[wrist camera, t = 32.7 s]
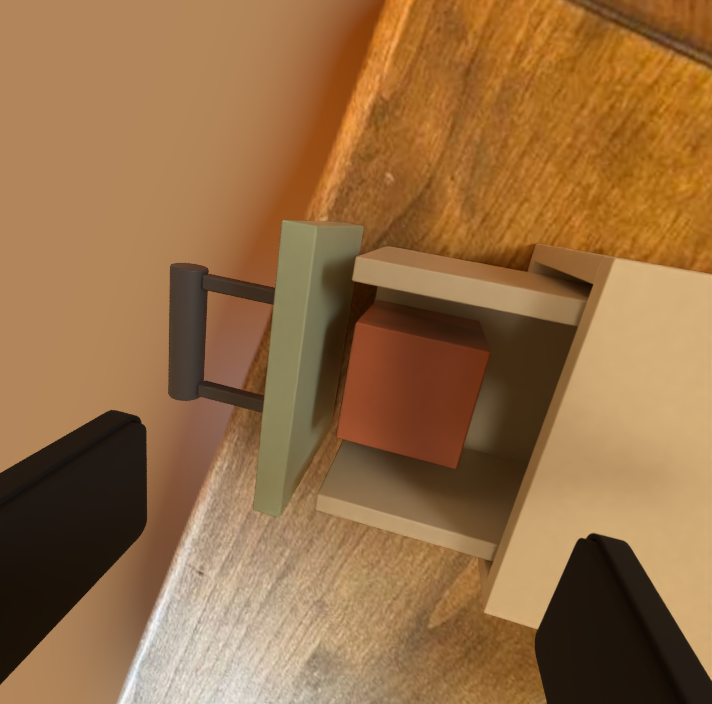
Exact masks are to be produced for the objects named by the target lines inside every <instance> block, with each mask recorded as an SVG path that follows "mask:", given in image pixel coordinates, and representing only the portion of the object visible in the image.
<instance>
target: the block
mask: <svg viewBox="0 0 712 704" xmlns="http://www.w3.org/2000/svg"><path fill="white" fill-rule="evenodd" d="M490 355H491V351H490V349H489V346H488V343H487V340H486V338H485V335H484V332H483V329H482V327H481V324H480V321H477V320H472V319H468V318H463V317H458V316H453V315H448V314H444V313H439V312H434V311H429V310H424V309H419V308H415V307H410V306H405V305H400V304H395V303H391V302H386V301H381V300H376V301H375V302H374V304H373V305H372V306H371V307H370V308H369V309H368V310H367V311H366V312H365V313H364V314H363V315H362V317H361V318H360V319H359V320H358V321H357V322H356V323H355V328H354V333H353V339H352V345H351V351H350V357H349V363H348V368H347V374H346V380H345V386H344V392H343V398H342V403H341V409H340V415H339V421H338V427H337V433H336V437H337V438H339V439H343V440H347V441H351V442H355V443H358V444H362V445H366V446H370V447H374V448H378V449H381V450H385V451H389V452H393V453H397V454H400V455H404V456H408V457H412V458H416V459H419V460H423V461H427V462H431V463H435V464H439V465H442V466H446V467H450V468H454V469H456V468H457V467H458V464H459V460H460V457H461V453H462V450H463V447H464V443H465V440H466V436H467V433H468V430H469V426H470V423H471V419H472V416H473V413H474V409H475V406H476V402H477V399H478V396H479V392H480V389H481V385H482V382H483V379H484V375H485V372H486V368H487V365H488V362H489V358H490Z"/></svg>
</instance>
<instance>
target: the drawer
mask: <svg viewBox="0 0 712 704" xmlns="http://www.w3.org/2000/svg"><path fill="white" fill-rule="evenodd" d="M363 229H364V226H362V225H356V224H351V223H345V222H331V221H304V220H282V225H281V235H280V245H279V255H278V265H277V276H276V284H275V288H273V287H269V286H264V285H259V284H254V283H249V282H245V281H240V280H235V279H231V278H225V277H221V276H216V275H212V274H209V275H208V268H206V267H204V266H201V265H196V264H190V263H175V264H171V266H170V312H169V313H170V314H169V315H170V316H169V317H170V318H169V386H168V388H169V389H168V391H169V392H168V393H169V396H170V397H171V398H173V399H176V400H182V401H188V400H194V399H197V398H199V397H204V398H208V399H212V400H215V401H219V402H224V403H227V404H231V405H235V406H239V407H242V408H246V409H250V410H254V411H258V412H262V413H263V414H262V424H261V434H260V444H259V454H258V464H257V474H256V484H255V494H254V504H253V510H255V511H258V512H262V513H265V514H268V515H272V516H275V517H280V516H281V515H282V513H283V511H284V509H285V508H286V506H287V504H288V502H289V501H290V499H291V497H292V495H293V493H294V492H295V490H296V488H297V486H298V485H299V483H300V481H301V479H302V478H303V476H304V474H305V472H306V471H307V469H308V467H309V465H310V463H311V462H312V460H313V458H314V456H315V455H316V453H317V451H318V449H319V448H320V446H321V444H322V442H323V441H324V439H325V437H326V435H327V433H328V432H329V430H330V428H331V424H332V417H333V411H334V405H335V399H336V393H337V387H338V381H339V375H340V369H341V363H342V357H343V351H344V345H345V339H346V333H347V326H348V320H349V314H350V308H351V302H352V296H353V290H354V284H355V282H360V283H365V284H369V285H374V286H377V291H376V296H375V301H376V300H381V301H386V302H391V303H395V304H400V305H405V306H410V307H415V308H419V309H424V310H429V311H434V312H439V313H444V314H448V315H453V316H458V317H463V318H468V319H472V320H477V321H480V324H481V327H482V329H483V332H484V335H485V338H486V340H487V343H488V346H489V349H490V351H491V355H490V358H489V362H488V365H487V368H486V372H485V375H484V379H483V382H482V385H481V389H480V392H479V396H478V399H477V402H476V406H475V409H474V413H473V416H472V419H471V423H470V426H469V430H468V433H467V436H466V440H465V443H464V447H463V450H462V453H461V457H460V460H459V464H458V467H457V468H456V469H454V468H450V467H446V466H442V465H439V464H435V463H431V462H427V461H423V460H419V459H416V458H412V457H408V456H404V455H400V454H397V453H393V452H389V451H385V450H381V449H378V448H374V447H370V446H366V445H362V444H358V443H355V442H351V441H347V440H343V441H342V444H341V446H340V448H339V450H338V452H337V454H336V456H335V458H334V460H333V462H332V465H331V467H330V469H329V471H328V473H327V475H326V477H325V479H324V481H323V484H322V486H321V488H320V490H319V492H318V494H317V499H316V506H315V510H317V511H321V512H324V513H328V514H331V515H335V516H338V517H341V518H345V519H348V520H352V521H355V522H359V523H362V524H366V525H369V526H372V527H376V528H379V529H383V530H386V531H390V532H393V533H396V534H400V535H403V536H407V537H410V538H414V539H417V540H420V541H424V542H427V543H431V544H434V545H438V546H441V547H445V548H448V549H451V550H455V551H458V552H462V553H465V554H469V555H472V556H475V557H479V558H482V559H486V560H489V561H494V559H495V556H496V553H497V550H498V548H499V545H500V542H501V539H502V536H503V534H504V531H505V528H506V525H507V523H508V520H509V517H510V514H511V511H512V509H513V506H514V503H515V500H516V498H517V495H518V492H519V489H520V487H521V484H522V481H523V478H524V475H525V473H526V470H527V467H528V464H529V462H530V459H531V456H532V453H533V451H534V448H535V445H536V442H537V439H538V437H539V434H540V431H541V428H542V426H543V423H544V420H545V417H546V415H547V412H548V409H549V406H550V403H551V401H552V398H553V395H554V392H555V390H556V387H557V384H558V381H559V379H560V376H561V373H562V370H563V367H564V365H565V362H566V359H567V356H568V354H569V351H570V348H571V345H572V343H573V340H574V337H575V334H576V331H577V329H578V326H579V323H580V320H581V318H582V315H583V312H584V309H585V307H586V304H587V301H588V298H589V295H590V293H591V290H592V287H593V284H589V283H584V282H578V281H573V280H568V279H562V278H557V277H552V276H546V275H541V274H535V273H530V272H525V271H519V270H514V269H509V268H503V267H498V266H493V265H487V264H482V263H477V262H471V261H466V260H461V259H455V258H450V257H445V256H439V255H434V254H428V253H423V252H418V251H412V250H407V249H402V248H396V247H391V246H386V247H383V248H380V249H377V250H374V251H371V252H368V253H365V254H362V255H359V254H360V248H361V242H362V236H363ZM208 291H213V292H217V293H222V294H226V295H231V296H236V297H241V298H245V299H250V300H254V301H259V302H264V303H268V304H272V305H273V314H272V324H271V334H270V344H269V354H268V364H267V374H266V384H265V394H264V395H260V394H256V393H252V392H248V391H244V390H240V389H236V388H232V387H228V386H224V385H221V384H216V383H212V382H209V381H203V380H204V360H205V338H206V337H205V336H206V316H207V292H208Z"/></svg>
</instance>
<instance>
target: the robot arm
mask: <svg viewBox="0 0 712 704" xmlns="http://www.w3.org/2000/svg"><path fill="white" fill-rule="evenodd" d="M146 522H147V458H146V427H145V426H144V425H143V424H142V423H141V420H140V418H139V417H137V416H135V415H132V414H128V413H124V412H120V411H115V410H110V411H108V412H106V413H104V414H102V415H100V416H99V417H97V418H95V419H94V420H92V421H90V422H88V423H86V424H85V425H83V426H81V427H79V428H78V429H76V430H74V431H73V432H71V433H69V434H67V435H66V436H64V437H62V438H60V439H59V440H57V441H55V442H54V443H52V444H50V445H48V446H46V447H45V448H43V449H41V450H40V451H38V452H36V453H34V454H33V455H31V456H29V457H27V458H26V459H24V460H22V461H20V462H19V463H17V464H15V465H14V466H12V467H10V468H8V469H7V470H5V471H3V472H1V473H0V684H1V683H2V682H3V681H4V680H5V679H6V678H7V677H8V676H9V675H10V674H11V673H12V672H13V671H14V670H15V668H16V667H17V666H18V665H19V664H20V663H21V662H22V661H23V660H24V659H25V658H26V657H27V656H28V655H29V654H30V653H31V651H32V650H33V649H34V648H35V647H36V646H37V645H38V644H39V643H40V642H41V641H42V640H43V639H44V638H45V637H46V635H47V634H48V633H49V632H50V631H51V630H52V629H53V628H54V627H55V626H56V625H57V624H58V623H59V622H60V621H61V620H62V618H64V616H65V615H66V614H67V613H68V612H69V611H70V610H71V609H72V608H73V607H74V606H75V605H76V604H77V602H79V600H80V599H81V598H82V597H83V596H84V595H85V594H86V593H87V592H88V591H89V590H90V589H91V588H92V587H93V586H94V585H95V583H96V582H97V581H98V580H99V579H100V578H101V577H102V576H103V575H104V574H105V573H106V572H107V571H108V570H109V569H110V567H112V565H113V564H114V563H115V562H116V561H117V560H118V559H119V558H120V557H121V556H122V555H123V554H124V553H125V551H127V549H128V548H129V547H130V546H131V545H132V544H133V543H134V542H135V541H136V540H137V539H138V538H139V536H140V535H141V534H142V532H143V530H144V528H145V526H146ZM535 653H536V658H537V662H538V667H539V671H540V675H541V679H542V684H543V688H544V692H545V696H546V701H547V704H712V680H711V679H710V677H709V676H708V674H707V672H706V671H705V669H704V667H703V666H702V664H701V662H700V661H699V659H698V657H697V656H696V654H695V652H694V651H693V649H692V647H691V646H690V644H689V643H688V641H687V639H686V638H685V636H684V634H683V633H682V631H681V629H680V628H679V626H678V624H677V623H676V621H675V619H674V618H673V616H672V614H671V613H670V611H669V610H668V608H667V606H666V605H665V603H664V601H663V600H662V598H661V596H660V595H659V593H658V591H657V590H656V588H655V586H654V585H653V583H652V582H651V580H650V578H649V577H648V575H647V573H646V572H645V570H644V568H643V567H642V565H641V563H640V562H639V560H638V558H637V557H636V555H635V553H634V552H633V550H632V549H631V547H630V546H629V544H628V543H627V542H625V541H623V540H620V539H616V538H612V537H608V536H604V535H600V534H596V533H591V534H589V535H588V536H587V538H586V539H585V538H580V539H578V540H577V542H576V544H575V546H574V549H573V551H572V553H571V555H570V558H569V560H568V562H567V564H566V567H565V569H564V571H563V573H562V576H561V578H560V580H559V583H558V585H557V587H556V589H555V592H554V594H553V596H552V598H551V601H550V603H549V605H548V608H547V610H546V612H545V614H544V617H543V619H542V621H541V623H540V626H539V628H538V630H537V633H536V637H535Z"/></svg>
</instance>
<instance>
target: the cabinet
mask: <svg viewBox="0 0 712 704" xmlns="http://www.w3.org/2000/svg"><path fill="white" fill-rule="evenodd" d="M527 272H530V273H535V274H541V275H546V276H552V277H557V278H562V279H568V280H573V281H578V282H584V283H589V284H593V287H592V290H591V293H590V295H589V298H588V301H587V304H586V307H585V309H584V312H583V315H582V318H581V320H580V323H579V326H578V329H577V331H576V334H575V337H574V340H573V343H572V345H571V348H570V351H569V354H568V356H567V359H566V362H565V365H564V367H563V370H562V373H561V376H560V379H559V381H558V384H557V387H556V390H555V392H554V395H553V398H552V401H551V403H550V406H549V409H548V412H547V415H546V417H545V420H544V423H543V426H542V428H541V431H540V434H539V437H538V439H537V442H536V445H535V448H534V451H533V453H532V456H531V459H530V462H529V464H528V467H527V470H526V473H525V475H524V478H523V481H522V484H521V487H520V489H519V492H518V495H517V498H516V500H515V503H514V506H513V509H512V511H511V514H510V517H509V520H508V523H507V525H506V528H505V531H504V534H503V536H502V539H501V542H500V545H499V548H498V550H497V553H496V556H495V559H494V561H489V560H486V559H482V558H479V557H478V561H479V571H480V581H481V591H482V603H483V612H484V613H486V614H489V615H493V616H496V617H499V618H502V619H505V620H509V621H512V622H515V623H518V624H522V625H525V626H528V627H531V628H534V629H538V628H539V626H540V623H541V621H542V619H543V617H544V614H545V612H546V610H547V608H548V605H549V603H550V601H551V598H552V596H553V594H554V592H555V589H556V587H557V585H558V583H559V580H560V578H561V576H562V573H563V571H564V569H565V567H566V564H567V562H568V560H569V558H570V555H571V553H572V551H573V549H574V546H575V544H576V542H577V540H578V539H580V538H585V539H586V538H587V536H588V535H589V534H591V533H596V534H600V535H604V536H608V537H612V538H616V539H620V540H623V541H625V542H627V543H628V544H629V546H630V547H631V549H632V550H633V552H634V553H635V555H636V557H637V558H638V560H639V562H640V563H641V565H642V567H643V568H644V570H645V572H646V573H647V575H648V577H649V578H650V580H651V582H652V583H653V585H654V586H655V588H656V590H657V591H658V593H659V595H660V596H661V598H662V600H663V601H664V603H665V605H666V606H667V608H668V610H669V611H670V613H671V614H672V616H673V618H674V619H675V621H676V623H677V624H678V626H679V628H680V629H681V631H682V633H683V634H684V636H685V638H686V639H687V641H688V643H689V644H690V646H691V647H692V649H693V651H694V652H695V654H696V656H697V657H698V659H699V661H700V662H701V664H702V666H703V667H704V669H705V671H706V672H707V674H708V676H709V677H710V679H711V680H712V274H709V273H703V272H698V271H692V270H686V269H681V268H675V267H669V266H664V265H658V264H652V263H647V262H641V261H635V260H630V259H624V258H618V257H613V256H607V255H601V254H596V253H590V252H584V251H579V250H573V249H567V248H561V247H556V246H550V245H544V244H539V243H536V244H535V248H534V251H533V254H532V258H531V261H530V264H529V268H528V271H527Z"/></svg>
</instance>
